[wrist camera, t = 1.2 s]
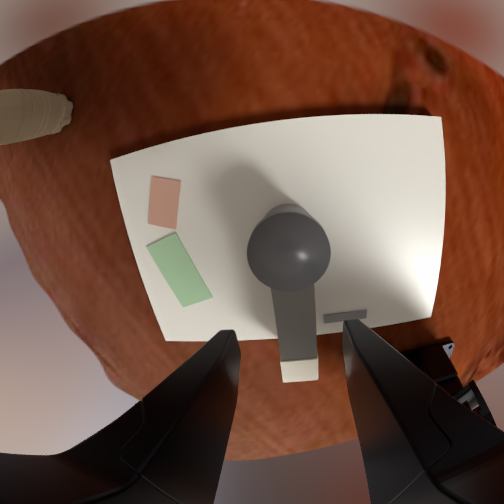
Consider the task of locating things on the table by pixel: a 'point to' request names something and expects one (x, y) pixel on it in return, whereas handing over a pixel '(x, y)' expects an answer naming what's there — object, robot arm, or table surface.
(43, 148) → the table surface
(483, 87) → the table surface
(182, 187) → the board
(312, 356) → the grey round-headed bar
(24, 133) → the handle
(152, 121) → the table surface
